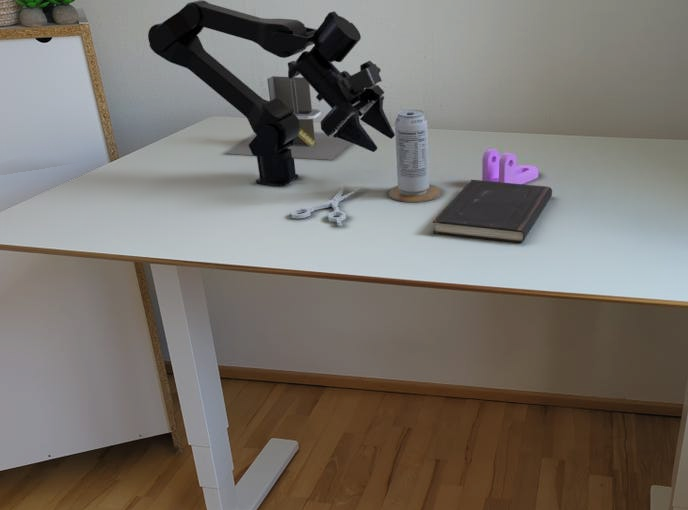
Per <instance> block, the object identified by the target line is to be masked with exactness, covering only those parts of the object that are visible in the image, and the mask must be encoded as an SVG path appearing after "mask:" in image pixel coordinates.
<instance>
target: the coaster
mask: <svg viewBox="0 0 688 510" xmlns="http://www.w3.org/2000/svg"><path fill="white" fill-rule="evenodd" d="M388 196H389V197H390V198H391V199H392V200H395V201H398V202H403V203H424V202H430V201H432V200H436V199H437V198H438V197H440V196H441V189H440V188H439V187H438V186H435V185H433V184H429V188H428V189H427V192H426V193H424V194H422V195H416V196H410V195H405V194H403V193H401V190H400V189H399V188H398V185H396V186H394V187H392V188H390V190H389V191H388Z"/></svg>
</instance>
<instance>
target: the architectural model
mask: <svg viewBox="0 0 688 510" xmlns="http://www.w3.org/2000/svg"><path fill="white" fill-rule="evenodd" d="M267 87H268V97H269V101H271V100H273V99H275V98H279V99H280V100H282V102H283V103H284V104H285V105H286V106H287V107H289V108H291V109H293V110H294V112H292V113H294V114H295V115H296V116H297V118H298V119H299V125H300V131H299V134H298V136H297V137H296V138H295V140H294V145H293V146H290V147H288V149H291V153H292V157H293V158H294V159H311V160H329V161H332V160H334V159H335V158H336V157H337V156H339V155H340V154H341V153H342V152H343V151H344V150H345V149H347V148H348V147H349V146H350V145H351V144H352V143H351V142H348V141H345V140H343V139H340V138H337V137H336V138H334V137H333V135H334V134H335V133H334V134H332V135H330V136H329V137H328V136H327V135H326V134H325V133H315V125H314V119H316V118H319V116H321V115H322V113H321V112H322V111H321V110H319V109H314V108H313V106H312V96H311V88H310V87H311V85H310V84H309V83H308V82H307V81H306V80H305V79H304V78H303V76H301V77H299V76H295V77H293V78H291V79H290V78H289V77H288V76H274V75H273V76H270V77H268V78H267ZM255 137H256V134H255V135H253V136H252V137H250V138H248V139H247V140H245V141H244V142H242V143H240V144H238V145H237V146H236V147H234V148H233V149H231V150H229V151H228V152H226V153H225V154H226V155H242V156H254V155H253V154H252V152H251V150H250V148H249V144H250V143H251V141H252V140H253V139H254V138H255Z"/></svg>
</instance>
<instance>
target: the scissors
mask: <svg viewBox="0 0 688 510" xmlns="http://www.w3.org/2000/svg"><path fill="white" fill-rule="evenodd" d="M345 186H346V184H345V185H343V186H342V187H341V189H339V190H338V191H337V193H336V194H335V195H334V197H333V198H331V199H329V200H327V201H326V202H323V203H320V204H316V205H313V206H311V207H302V208H297V209H296V208H295V209H294V210H292V211H291V212H290V213H291V218H292V219H297V220H298V219H305V218H308V217H310V216H312V213H313V212H314V211H317V210H322V209H326V208H332V209H333V211H331V212H328V213H327V219H328V221H330V222H335V223H336V224H337V226H338V227H341V226H342V221H344V220H346V218H347V214H346V212H345V211H342V210H340V207H339V203H340V202H341V201H343V200H345V199H347V198H349V197H351V195H353V194H355V193H357V192H358V191H360V190H362V189H363V188H364V186H362V187H359V188H356V189H355V190H353V191H351V192H348V193H346V194H344V195H343V193H344V189H345Z"/></svg>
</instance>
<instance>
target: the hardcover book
mask: <svg viewBox="0 0 688 510" xmlns="http://www.w3.org/2000/svg"><path fill="white" fill-rule="evenodd" d="M552 196H553V189H552V188H551V186H546V185H534V184H525V183H524V184H513V183H503V182H492V181H482V179H471V180H470V181H469V182H468V183H467V184H466V185H465V186H464V187H463V188H462V189H461V190H460V192H458V193H457V195H456V196H455V197H454V198H453V199H452V200H451V201H450V202H449V203H448V204H447V205H446V206H445V208H444V209H443V210H442V211H440V213H439V214H438V215H437V216H436V217H435V218H434V219H433V221H432V223H433V224H435V226H434V228H435V229H434V230H433V232H432V234H436V235H442V236H451V237H452V236H453V237H460V238H461V237H462V238H470V239H471V238H472V239H480V240H488V241H496V242H497V241H498V242H506V243H515V244H522V243H523V242H524V241H525V239H526V238H527V236H528V235H529V233H530V231H531V230H532V228H533V227H534V225H535V224H536V222H537V220H538V219H539V217H540V215H541V214H542V212H543V211H544V209H545V208H546V206H547V204H548V203H549V201H550V199H551V198H552Z"/></svg>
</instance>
